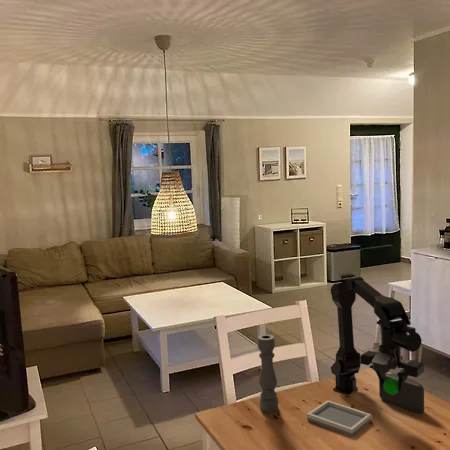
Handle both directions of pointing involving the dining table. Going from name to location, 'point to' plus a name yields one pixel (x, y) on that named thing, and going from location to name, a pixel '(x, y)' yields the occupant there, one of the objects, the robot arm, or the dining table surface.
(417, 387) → the leaning round-cornered charcoal block
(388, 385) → the polyhedron
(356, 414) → the tray
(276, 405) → the candle holder
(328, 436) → the dining table surface
